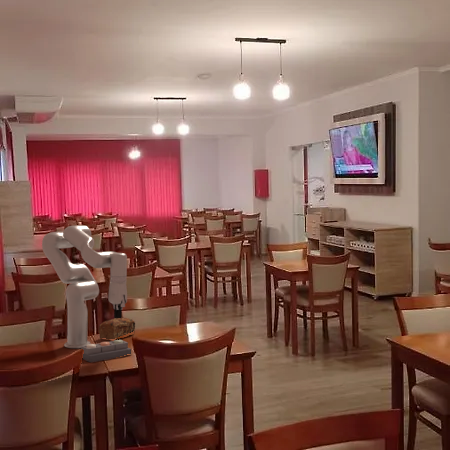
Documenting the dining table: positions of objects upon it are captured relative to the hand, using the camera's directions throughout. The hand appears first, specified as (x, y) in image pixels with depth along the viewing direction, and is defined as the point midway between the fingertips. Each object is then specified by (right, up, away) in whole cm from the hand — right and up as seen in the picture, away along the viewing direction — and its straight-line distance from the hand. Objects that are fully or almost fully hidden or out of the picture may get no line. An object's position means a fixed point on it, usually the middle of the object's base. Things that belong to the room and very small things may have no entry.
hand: (117, 317), depth 284 cm
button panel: (-5, -17, -4) cm, 18 cm away
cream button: (-11, -14, -9) cm, 19 cm away
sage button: (0, -13, 0) cm, 13 cm away
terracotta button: (-5, -14, -4) cm, 15 cm away
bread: (-7, -16, +35) cm, 39 cm away
